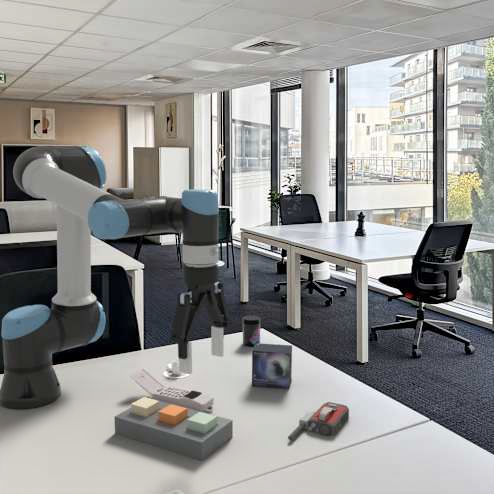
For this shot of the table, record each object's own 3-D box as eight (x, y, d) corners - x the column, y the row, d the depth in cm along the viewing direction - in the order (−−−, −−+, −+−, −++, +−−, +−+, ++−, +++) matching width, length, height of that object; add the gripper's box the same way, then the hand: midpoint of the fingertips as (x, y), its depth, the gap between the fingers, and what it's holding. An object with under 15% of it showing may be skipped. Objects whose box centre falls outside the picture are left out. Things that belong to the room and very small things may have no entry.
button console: (115, 433, 135) (114, 416, 134) (149, 413, 145) (148, 397, 144) (202, 460, 123) (201, 442, 122) (232, 436, 133) (232, 420, 132)
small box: (250, 387, 161) (251, 350, 160) (254, 378, 168) (255, 342, 166) (289, 389, 160) (290, 352, 158) (292, 380, 166) (292, 344, 164)
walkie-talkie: (317, 409, 148) (284, 443, 131) (318, 392, 148) (284, 424, 130) (351, 416, 144) (322, 452, 127) (352, 399, 144) (322, 433, 126)
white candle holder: (166, 368, 176) (165, 355, 176) (192, 369, 176) (192, 355, 175) (160, 379, 168) (160, 366, 167) (188, 380, 167) (188, 366, 167)
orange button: (158, 430, 133) (158, 411, 132) (171, 422, 137) (171, 404, 136) (175, 435, 130) (174, 416, 130) (187, 427, 134) (187, 408, 134)
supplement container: (246, 347, 194) (246, 321, 193) (240, 342, 199) (240, 316, 198) (262, 345, 196) (262, 319, 195) (256, 340, 201) (256, 314, 200)
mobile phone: (142, 368, 160) (221, 384, 148) (143, 389, 161) (222, 407, 149) (127, 375, 154) (208, 393, 143) (128, 397, 155) (209, 416, 144)
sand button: (131, 422, 137) (130, 403, 136) (144, 414, 141) (143, 396, 140) (147, 427, 134) (146, 408, 134) (159, 419, 138) (159, 401, 138)
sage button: (187, 439, 129) (187, 419, 128) (199, 430, 133) (199, 411, 132) (205, 444, 126) (205, 424, 126) (217, 435, 130) (217, 416, 130)
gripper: (181, 275, 112) (183, 385, 115) (245, 256, 132) (245, 350, 135) (150, 271, 115) (153, 378, 119) (216, 254, 136) (217, 345, 139)
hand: (202, 363), depth 127 cm, fingers open, 11 cm apart
